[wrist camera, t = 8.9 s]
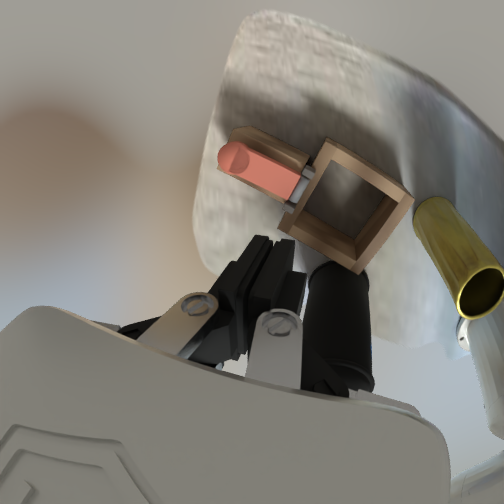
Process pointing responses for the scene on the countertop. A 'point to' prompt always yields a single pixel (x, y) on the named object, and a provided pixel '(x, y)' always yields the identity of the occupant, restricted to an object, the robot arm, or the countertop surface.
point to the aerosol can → (341, 323)
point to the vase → (460, 258)
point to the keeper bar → (262, 171)
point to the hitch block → (295, 217)
